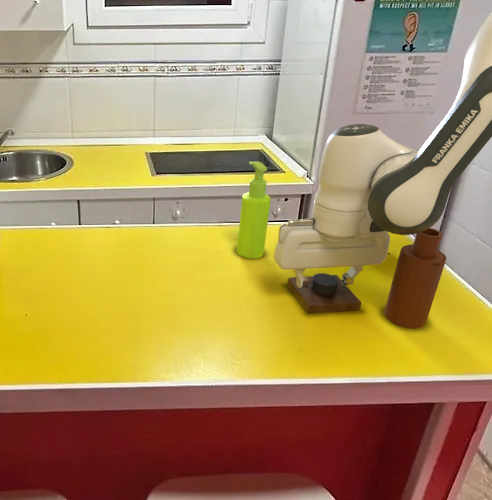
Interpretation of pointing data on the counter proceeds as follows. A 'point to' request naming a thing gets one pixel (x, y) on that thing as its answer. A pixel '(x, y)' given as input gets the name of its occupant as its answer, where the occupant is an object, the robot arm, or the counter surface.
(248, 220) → the soap dispenser
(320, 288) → the cylinder
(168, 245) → the counter surface
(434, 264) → the bottle
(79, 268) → the counter surface
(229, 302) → the counter surface
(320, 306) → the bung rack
